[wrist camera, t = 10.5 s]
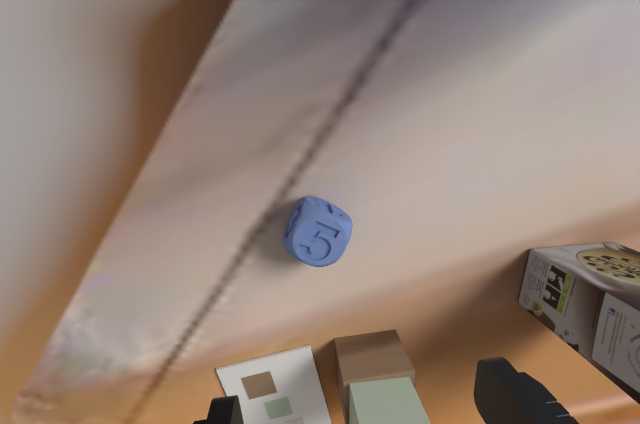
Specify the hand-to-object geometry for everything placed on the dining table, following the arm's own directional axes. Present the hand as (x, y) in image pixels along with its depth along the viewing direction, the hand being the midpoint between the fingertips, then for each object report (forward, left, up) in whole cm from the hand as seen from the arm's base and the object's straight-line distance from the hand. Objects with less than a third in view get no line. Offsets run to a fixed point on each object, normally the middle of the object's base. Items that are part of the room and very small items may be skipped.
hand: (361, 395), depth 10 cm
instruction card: (+19, -5, -16) cm, 25 cm away
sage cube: (+15, +4, -11) cm, 19 cm away
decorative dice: (0, 0, -17) cm, 17 cm away
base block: (+15, +4, -16) cm, 23 cm away
